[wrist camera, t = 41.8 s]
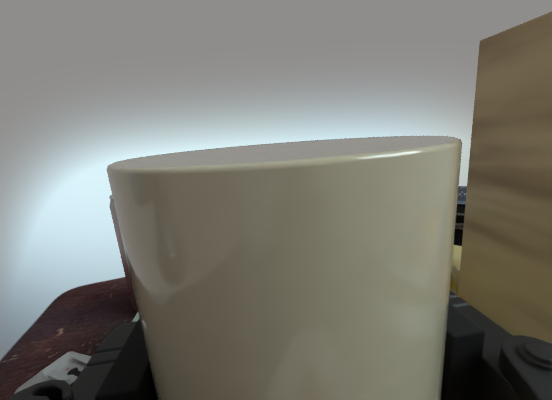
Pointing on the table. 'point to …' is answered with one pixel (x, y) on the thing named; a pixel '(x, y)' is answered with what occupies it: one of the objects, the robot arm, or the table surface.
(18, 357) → the table surface
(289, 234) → the beige cylinder
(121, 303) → the table surface
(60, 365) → the camera
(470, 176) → the pedestal
